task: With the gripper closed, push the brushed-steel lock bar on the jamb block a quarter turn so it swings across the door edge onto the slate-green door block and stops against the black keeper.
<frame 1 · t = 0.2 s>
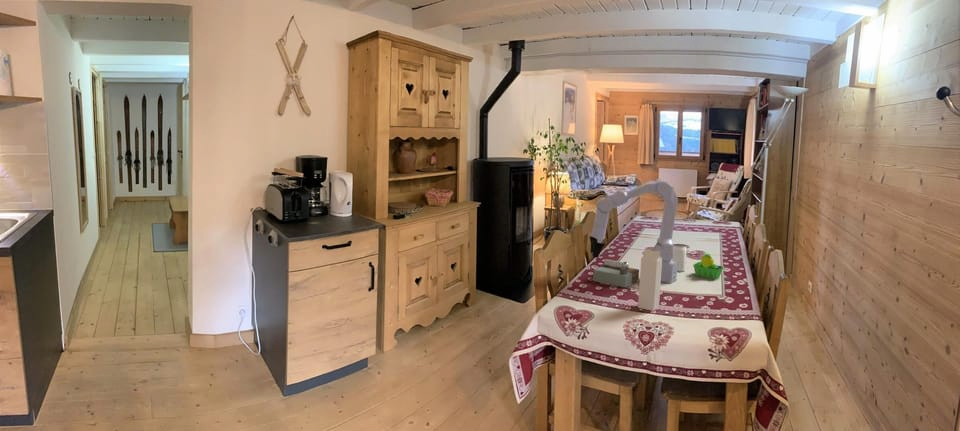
hand: (594, 255, 244), 10 cm above the table, tool pointing down, fingers open, 7 cm apart
lock bar: (616, 263, 244), point 7 cm above the table, hinge at 0.0°
fruit basket: (706, 277, 250), on the table
jamb: (619, 278, 245), on the table
door: (612, 282, 239), on the table
can: (677, 270, 260), on the table
milk: (648, 307, 209), on the table
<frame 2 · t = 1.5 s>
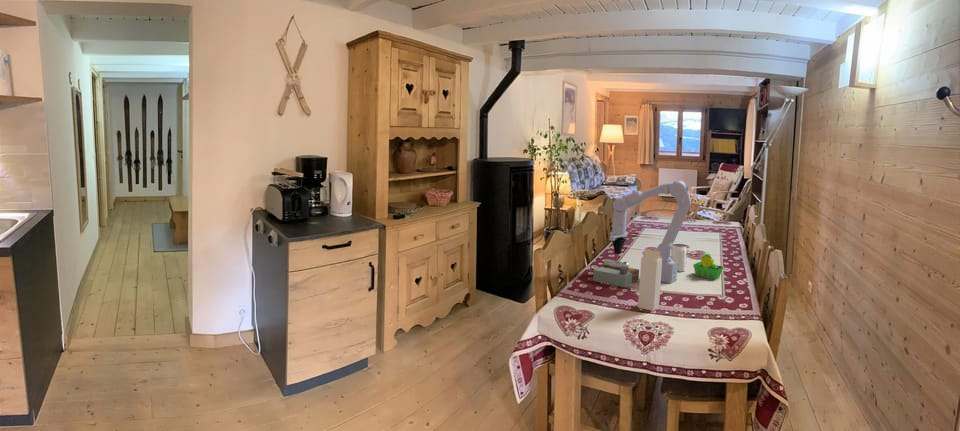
hand: (617, 253, 251), 9 cm above the table, tool pointing down, fingers closed
nothing on the table moved.
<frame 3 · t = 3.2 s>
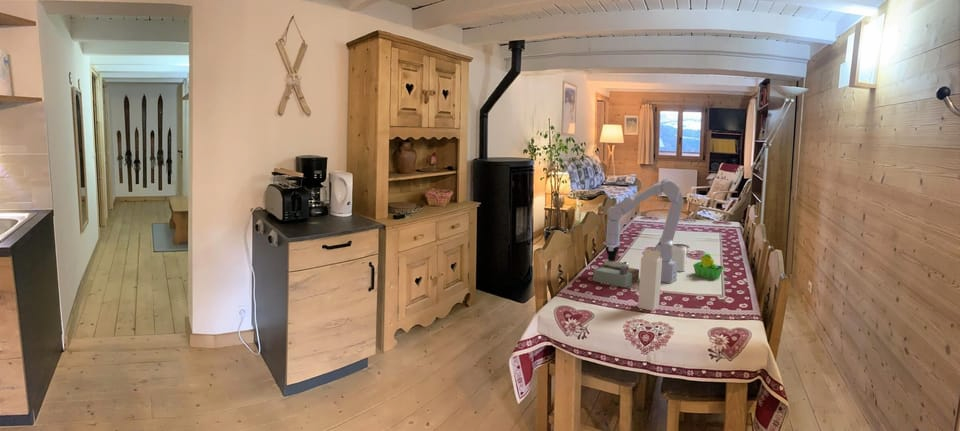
hand: (611, 263, 248), 6 cm above the table, tool pointing down, fingers closed
lock bar: (616, 263, 244), point 7 cm above the table, hinge at 3.1°, touching gripper
everything else where it was.
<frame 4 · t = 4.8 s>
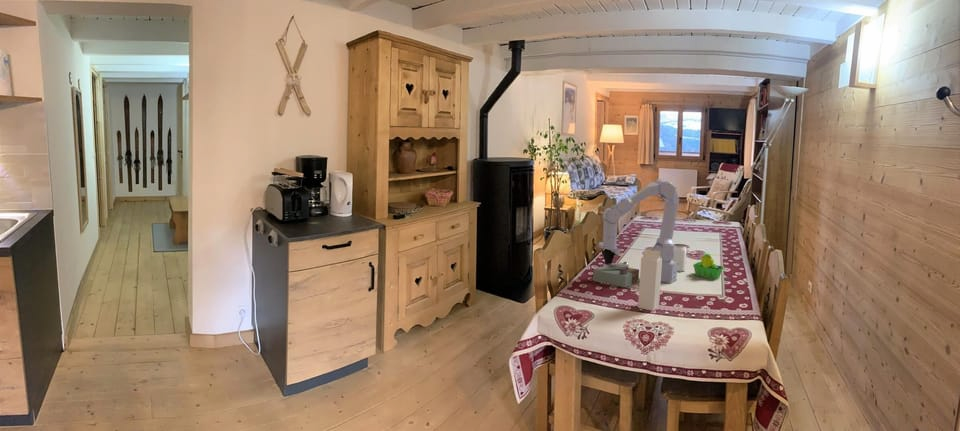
hand: (608, 266, 242), 6 cm above the table, tool pointing down, fingers closed, pressing on lock bar
lock bar: (616, 265, 241), point 7 cm above the table, hinge at 50.3°, touching gripper
everything else where it was.
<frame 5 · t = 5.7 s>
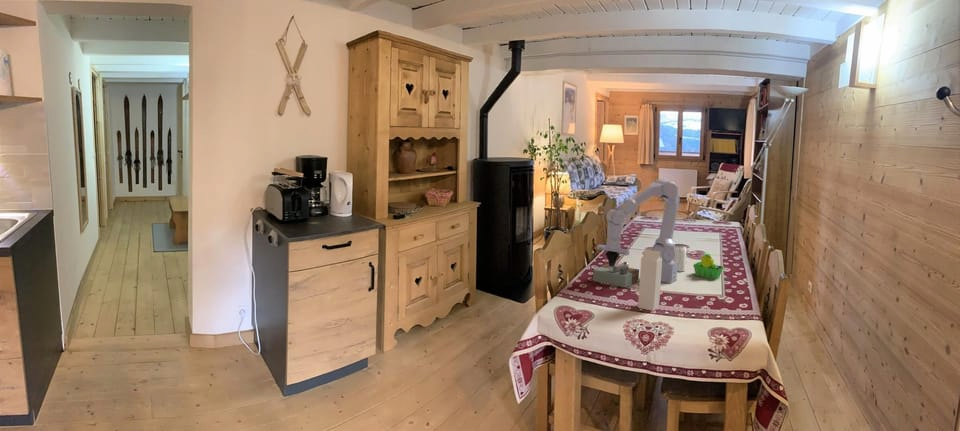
hand: (611, 268, 239), 6 cm above the table, tool pointing down, fingers closed, pressing on lock bar
lock bar: (619, 266, 239), point 7 cm above the table, hinge at 77.5°, touching gripper
everything else where it was.
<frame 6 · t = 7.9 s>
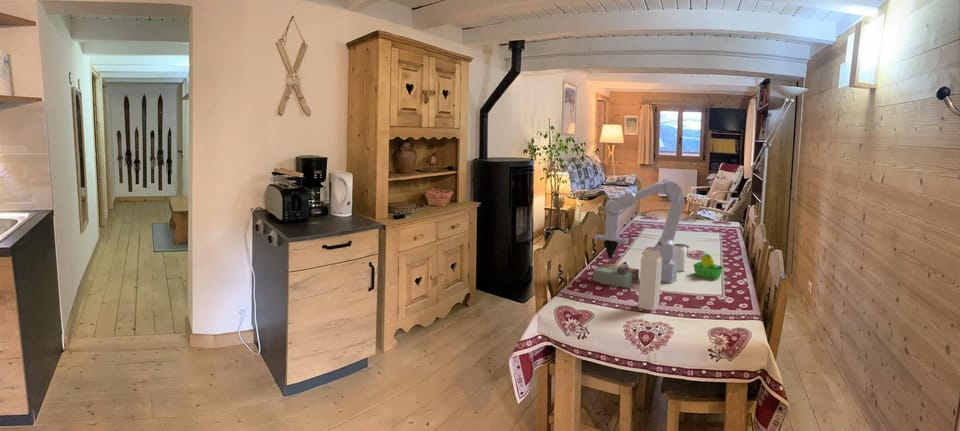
hand: (610, 257, 245), 9 cm above the table, tool pointing down, fingers closed
lock bar: (621, 266, 239), point 7 cm above the table, hinge at 88.9°
everything else where it was.
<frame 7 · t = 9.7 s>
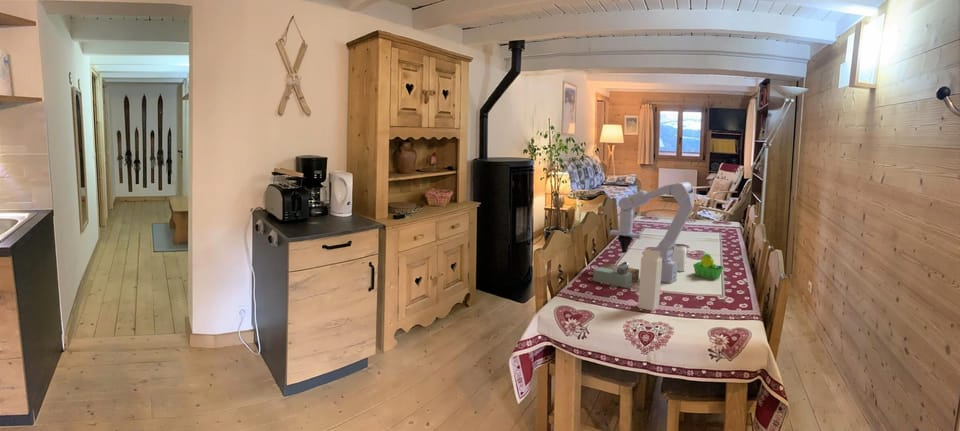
hand: (624, 252, 254), 9 cm above the table, tool pointing down, fingers closed
nothing on the table moved.
at the end: lock bar at +89° (first picture: +0°); can moved 0.2 cm from its start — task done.
